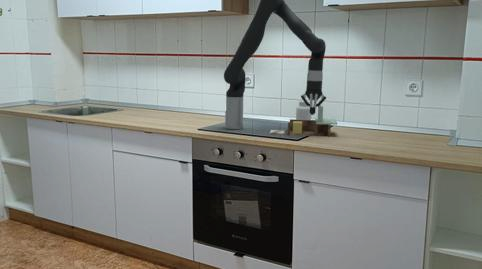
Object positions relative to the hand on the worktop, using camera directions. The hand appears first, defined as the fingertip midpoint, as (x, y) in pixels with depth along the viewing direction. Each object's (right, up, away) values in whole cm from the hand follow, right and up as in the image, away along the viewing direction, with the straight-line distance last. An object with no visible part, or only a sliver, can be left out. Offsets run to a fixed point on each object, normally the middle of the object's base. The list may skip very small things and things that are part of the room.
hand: (312, 114), depth 225 cm
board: (-6, -10, +3) cm, 12 cm away
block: (-7, -9, +3) cm, 12 cm away
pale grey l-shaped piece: (+7, -4, 0) cm, 8 cm away
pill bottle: (-2, -7, +22) cm, 23 cm away
